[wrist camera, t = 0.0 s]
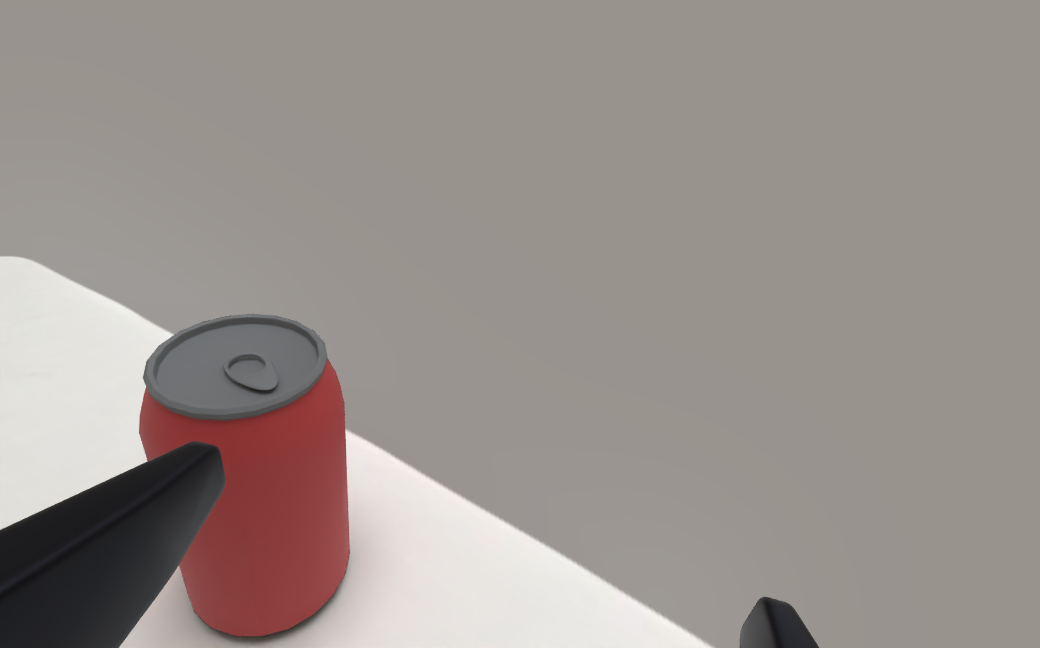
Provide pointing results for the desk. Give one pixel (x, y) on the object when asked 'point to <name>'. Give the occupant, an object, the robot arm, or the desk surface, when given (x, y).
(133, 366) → the desk surface
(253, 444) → the beer can
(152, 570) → the robot arm
